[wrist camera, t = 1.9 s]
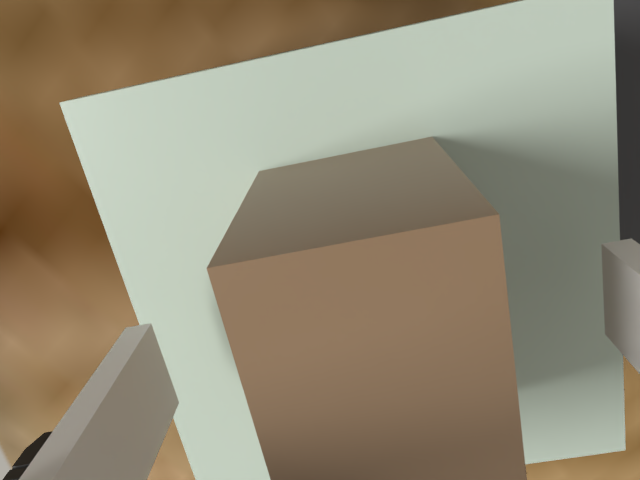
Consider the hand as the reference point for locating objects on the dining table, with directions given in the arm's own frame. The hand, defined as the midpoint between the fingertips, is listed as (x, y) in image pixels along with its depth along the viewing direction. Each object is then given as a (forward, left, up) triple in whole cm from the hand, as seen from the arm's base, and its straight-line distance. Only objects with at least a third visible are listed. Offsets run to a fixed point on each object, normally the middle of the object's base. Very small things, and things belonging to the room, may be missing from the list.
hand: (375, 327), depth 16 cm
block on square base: (0, 0, -5) cm, 5 cm away
